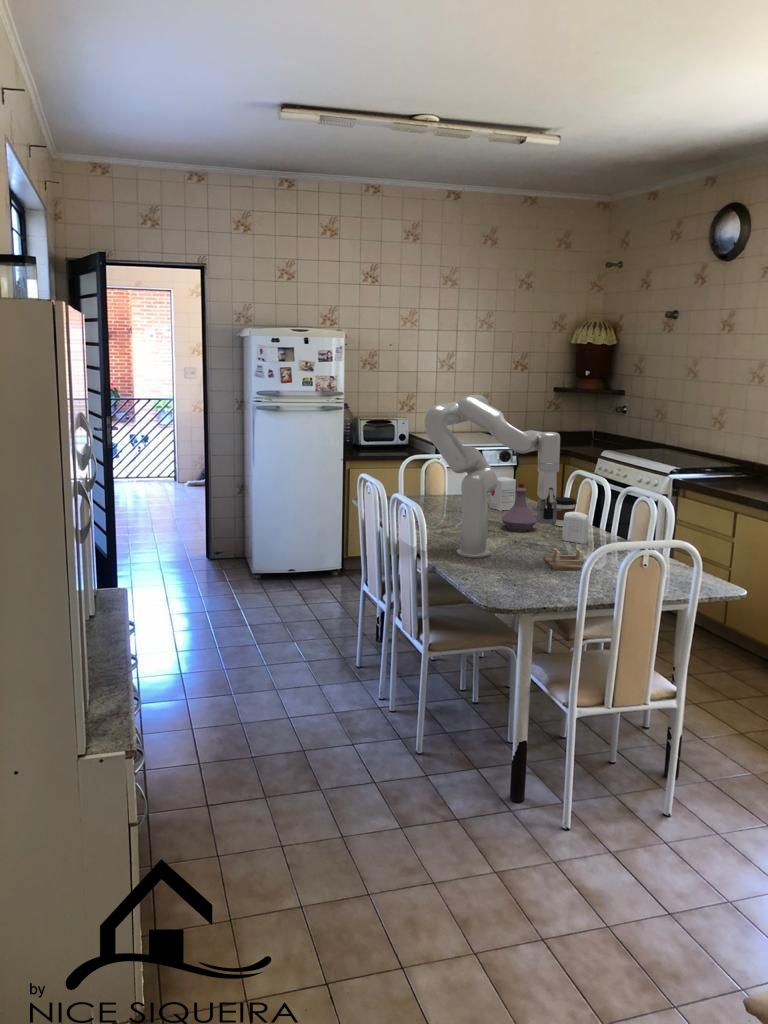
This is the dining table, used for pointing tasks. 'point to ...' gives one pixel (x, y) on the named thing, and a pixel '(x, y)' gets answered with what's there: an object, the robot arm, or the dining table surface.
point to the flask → (519, 513)
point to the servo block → (540, 511)
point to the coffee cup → (564, 508)
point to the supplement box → (503, 494)
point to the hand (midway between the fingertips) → (546, 517)
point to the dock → (565, 560)
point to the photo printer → (575, 527)
